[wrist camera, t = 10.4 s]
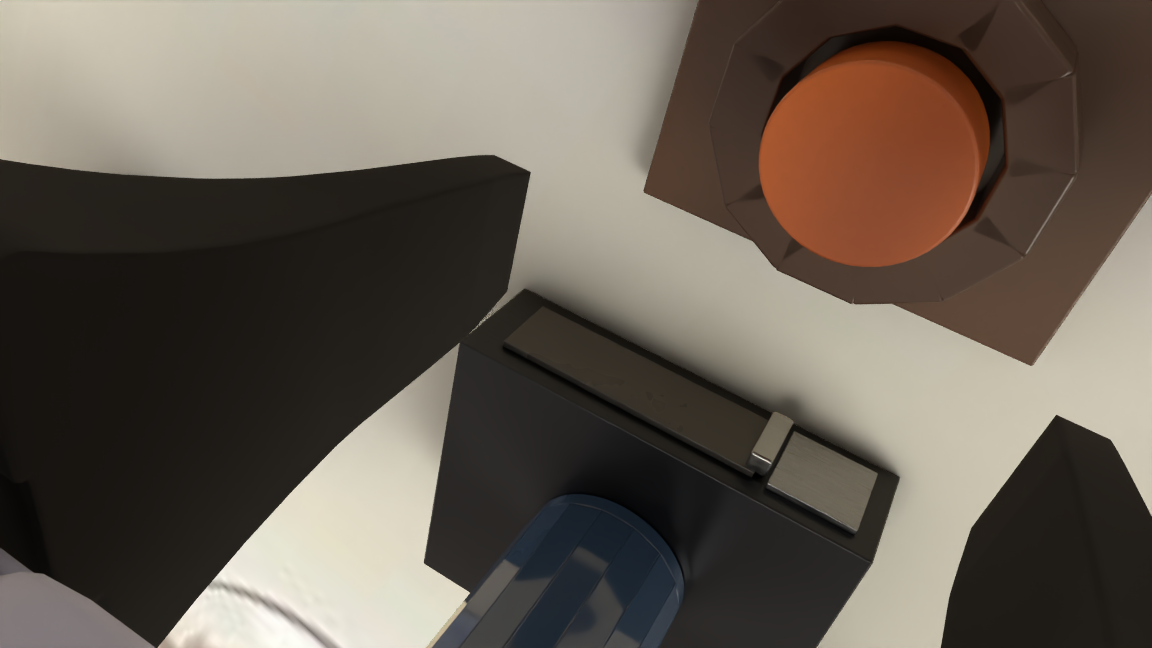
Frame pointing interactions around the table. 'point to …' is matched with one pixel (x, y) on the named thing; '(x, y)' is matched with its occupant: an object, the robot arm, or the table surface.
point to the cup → (573, 584)
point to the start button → (875, 154)
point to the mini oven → (653, 476)
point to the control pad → (1012, 172)
